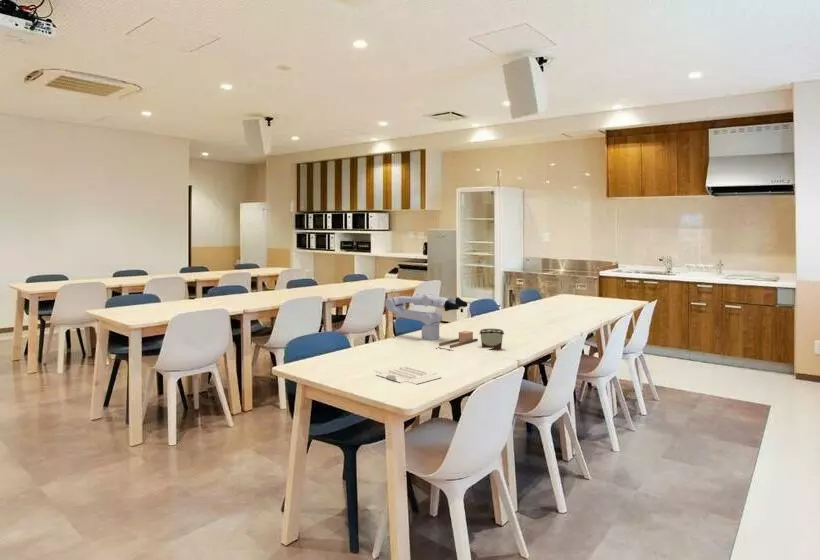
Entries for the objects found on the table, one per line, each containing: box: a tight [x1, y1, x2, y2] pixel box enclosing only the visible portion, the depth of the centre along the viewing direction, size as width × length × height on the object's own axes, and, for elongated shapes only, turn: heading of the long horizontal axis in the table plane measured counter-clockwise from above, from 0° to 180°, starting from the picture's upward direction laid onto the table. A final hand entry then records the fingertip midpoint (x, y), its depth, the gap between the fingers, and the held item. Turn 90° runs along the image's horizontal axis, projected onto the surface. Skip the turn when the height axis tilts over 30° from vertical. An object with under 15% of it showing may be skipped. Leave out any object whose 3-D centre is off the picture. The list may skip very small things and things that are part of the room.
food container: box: [478, 328, 505, 351], centre depth 270 cm, size 12×6×10 cm, turn 84°
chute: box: [437, 337, 479, 352], centre depth 279 cm, size 10×22×2 cm, turn 137°
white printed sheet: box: [373, 364, 442, 385], centre depth 225 cm, size 20×28×4 cm
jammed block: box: [458, 330, 474, 343], centre depth 283 cm, size 5×6×5 cm
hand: (462, 306), depth 277 cm, fingers open, 7 cm apart
